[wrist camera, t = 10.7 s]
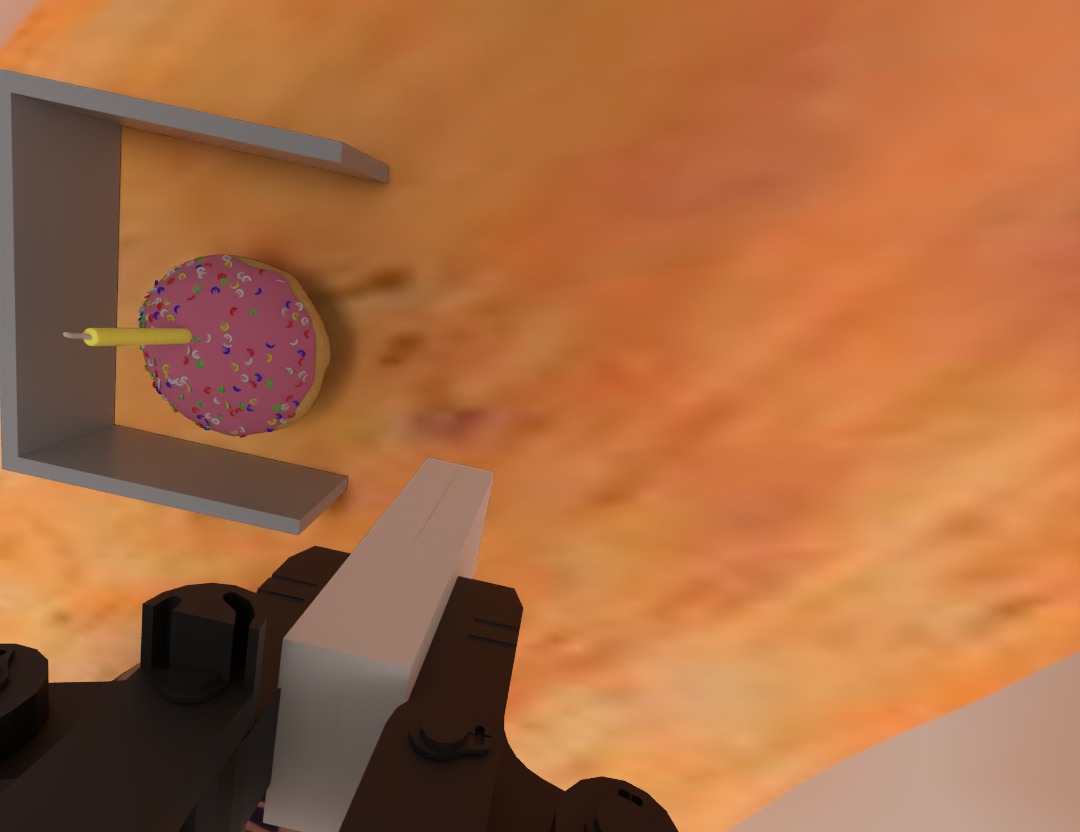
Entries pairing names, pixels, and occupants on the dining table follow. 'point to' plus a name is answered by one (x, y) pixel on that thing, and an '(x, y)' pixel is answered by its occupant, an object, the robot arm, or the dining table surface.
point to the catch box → (115, 305)
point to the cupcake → (229, 344)
